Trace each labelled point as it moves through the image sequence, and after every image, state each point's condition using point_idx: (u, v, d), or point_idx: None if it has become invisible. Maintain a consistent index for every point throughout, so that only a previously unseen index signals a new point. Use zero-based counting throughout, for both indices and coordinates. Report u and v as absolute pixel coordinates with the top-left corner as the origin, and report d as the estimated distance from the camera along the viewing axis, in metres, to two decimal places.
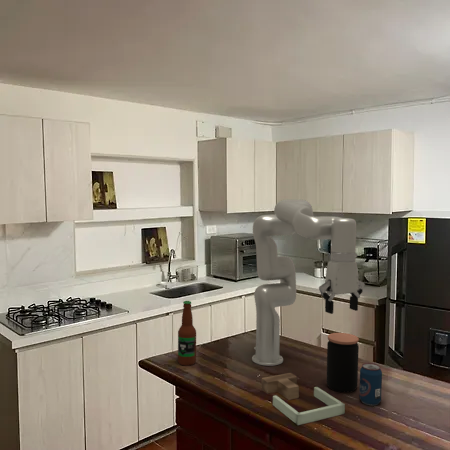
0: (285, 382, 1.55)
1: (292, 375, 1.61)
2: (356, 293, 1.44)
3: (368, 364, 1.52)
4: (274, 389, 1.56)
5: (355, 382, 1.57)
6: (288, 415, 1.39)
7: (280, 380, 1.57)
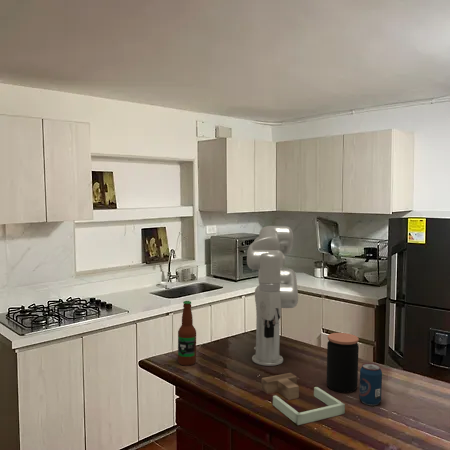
0: (285, 382, 1.55)
1: (292, 375, 1.61)
2: None
3: (368, 364, 1.52)
4: (274, 389, 1.56)
5: (355, 382, 1.57)
6: (288, 415, 1.39)
7: (280, 380, 1.57)
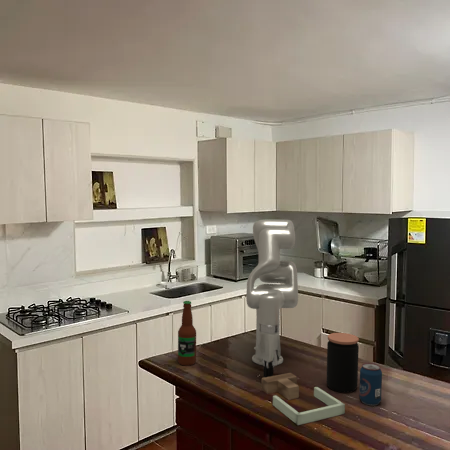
0: (285, 382, 1.55)
1: (292, 375, 1.61)
2: None
3: (368, 364, 1.52)
4: (274, 389, 1.56)
5: (355, 382, 1.57)
6: (288, 415, 1.39)
7: (280, 380, 1.57)
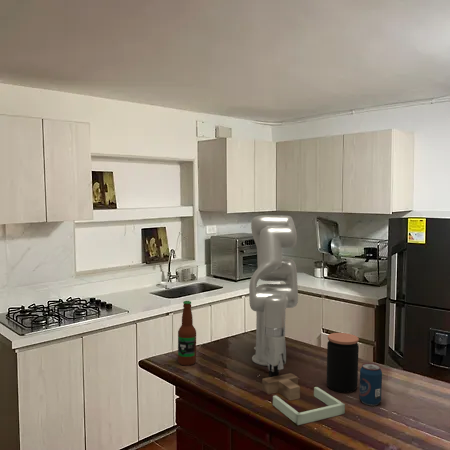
0: (286, 382, 1.55)
1: (293, 375, 1.60)
2: None
3: (368, 364, 1.52)
4: (275, 390, 1.56)
5: (355, 382, 1.57)
6: (288, 415, 1.39)
7: (281, 380, 1.56)
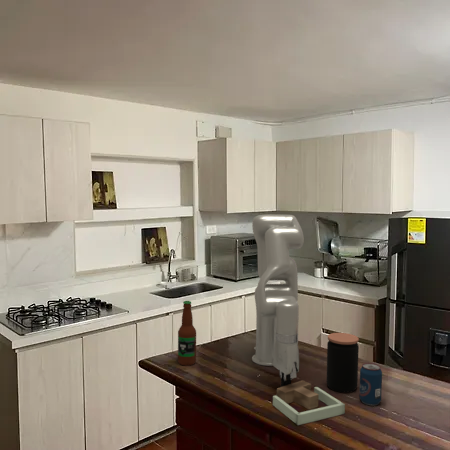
0: (302, 390, 1.48)
1: (306, 383, 1.54)
2: None
3: (369, 364, 1.52)
4: (291, 399, 1.49)
5: (355, 382, 1.57)
6: (288, 415, 1.39)
7: (296, 389, 1.49)
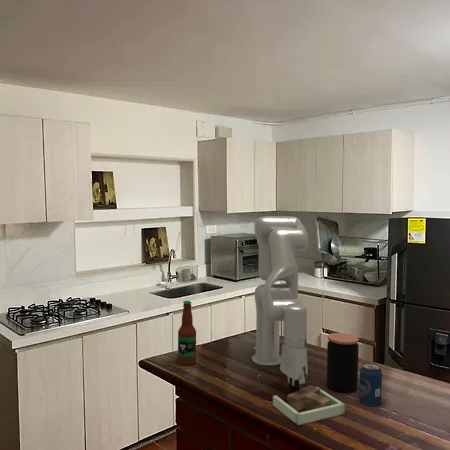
0: (314, 396, 1.44)
1: (314, 388, 1.50)
2: None
3: (368, 364, 1.52)
4: (302, 406, 1.44)
5: (355, 382, 1.57)
6: (288, 415, 1.39)
7: (307, 395, 1.45)
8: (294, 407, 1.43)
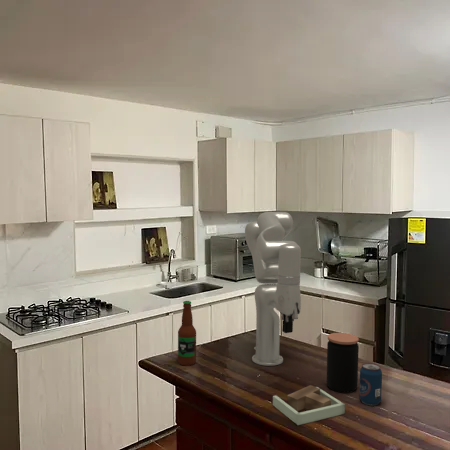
0: (314, 396, 1.44)
1: (314, 388, 1.51)
2: None
3: (368, 364, 1.52)
4: (302, 406, 1.44)
5: (355, 382, 1.57)
6: (288, 415, 1.39)
7: (307, 395, 1.45)
8: (294, 407, 1.43)
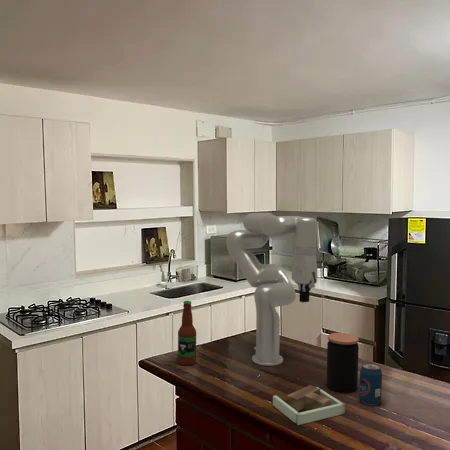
0: (314, 396, 1.44)
1: (314, 388, 1.51)
2: None
3: (369, 364, 1.52)
4: (302, 406, 1.44)
5: (355, 382, 1.57)
6: (288, 415, 1.39)
7: (307, 395, 1.45)
8: (294, 407, 1.43)
